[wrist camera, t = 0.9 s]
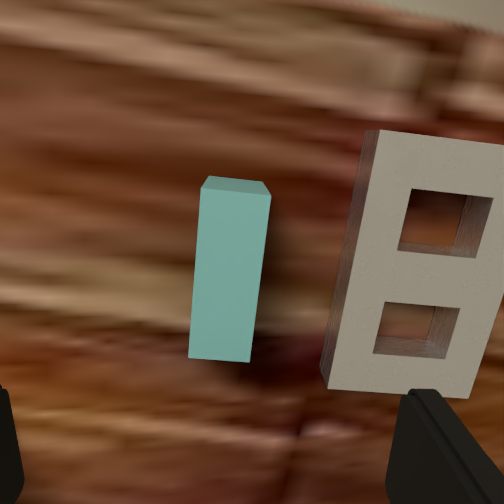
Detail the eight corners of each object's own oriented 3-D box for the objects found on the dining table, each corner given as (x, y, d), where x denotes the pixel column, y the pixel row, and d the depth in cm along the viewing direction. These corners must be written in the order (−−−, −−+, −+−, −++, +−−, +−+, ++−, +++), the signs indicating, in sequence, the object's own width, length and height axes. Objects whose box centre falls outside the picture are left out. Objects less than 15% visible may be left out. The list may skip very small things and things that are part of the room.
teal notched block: (246, 314, 31) (249, 362, 25) (198, 310, 31) (188, 357, 24) (262, 181, 28) (271, 195, 21) (209, 175, 28) (201, 187, 21)
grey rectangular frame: (448, 376, 34) (468, 398, 31) (319, 366, 33) (327, 388, 30) (518, 149, 28) (551, 151, 25) (364, 130, 27) (380, 129, 24)
